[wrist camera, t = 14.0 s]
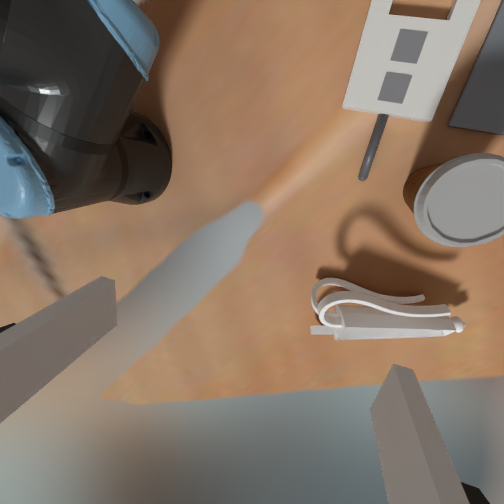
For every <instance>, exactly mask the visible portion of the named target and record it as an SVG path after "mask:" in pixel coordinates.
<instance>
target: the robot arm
mask: <svg viewBox="0 0 504 504" xmlns="http://www.w3.org/2000/svg"><path fill="white" fill-rule="evenodd" d="M158 50H159V35H158V32H157V29H156V27H155V25H154V24H153V22H152V21H151V20H150V18H149V17H148V16H147V15H146V14H145V13H144V12H143V11H142V10H141V9H140V8H139V7H138V6H137V5H136V3H135V2H134V1H133V0H0V215H3V216H6V217H10V218H28V217H34V216H49V215H51V214H53V213H58V212H62V211H66V210H70V209H74V208H79V207H83V206H87V205H91V204H96V203H100V202H104V201H113V202H119V203H124V204H130V205H138V204H143V203H147V202H150V201H153V200H155V199H156V198H158V197H159V196H160V195H161V194H162V193H163V192H164V190H165V189H166V187H167V185H168V183H169V180H170V176H171V156H170V152H169V148H168V145H167V143H166V141H165V139H164V137H163V135H162V134H161V132H160V131H159V129H158V128H157V127H156V126H155V125H154V124H153V123H152V122H151V121H150V120H148V119H147V118H145V117H144V116H142V115H139V114H137V113H133V112H131V111H132V109H133V107H134V105H135V103H136V101H137V99H138V97H139V94H140V92H141V90H142V88H143V86H144V84H145V82H146V81H148V80H149V72H150V69H151V67H152V64H153V62H154V60H155V57H156V55H157V52H158ZM116 325H117V311H116V292H115V280H112V279H109V278H106V277H102V276H101V277H99V278H98V279H96V280H94V281H92V282H90V283H89V284H87V285H85V286H83V287H82V288H80V289H78V290H76V291H74V292H73V293H71V294H69V295H67V296H66V297H64V298H62V299H60V300H58V301H57V302H55V303H53V304H51V305H50V306H48V307H46V308H44V309H42V310H41V311H39V312H37V313H35V314H33V315H32V316H30V317H28V318H26V319H25V320H23V321H21V322H19V323H17V324H15V323H12V324H9V325H6V326H3V327H1V328H0V423H1V422H2V421H4V420H5V419H6V418H7V417H8V416H9V415H10V414H12V413H13V412H14V411H15V410H17V409H18V408H19V407H20V406H21V405H23V404H24V403H25V402H26V401H27V400H28V399H30V398H31V397H32V396H33V395H34V394H36V393H37V392H38V391H39V390H40V389H42V388H43V387H44V386H45V385H46V384H47V383H49V382H50V381H51V380H52V379H53V378H55V377H56V376H57V375H58V374H59V373H61V372H62V371H63V370H64V369H65V368H66V367H68V366H69V365H70V364H71V363H72V362H74V361H75V360H76V359H77V358H78V357H80V356H81V355H82V354H83V353H84V352H85V351H87V350H88V349H89V348H90V347H91V346H92V345H94V344H95V343H96V342H97V341H98V340H100V339H101V338H102V337H103V336H104V335H106V334H107V333H108V332H109V331H110V330H112V329H113V328H114V327H115V326H116ZM370 409H371V415H372V420H373V425H374V431H375V436H376V441H377V447H378V452H379V457H380V462H381V468H382V473H383V478H384V483H385V488H386V494H387V499H388V504H490V503H489V502H488V500H487V499H486V498H485V496H484V495H483V494H482V492H481V491H480V489H479V488H476V487H473V486H470V485H468V484H465V483H462V482H460V480H459V477H458V475H457V473H456V470H455V468H454V465H453V463H452V461H451V458H450V456H449V454H448V451H447V449H446V446H445V444H444V442H443V439H442V437H441V435H440V432H439V430H438V428H437V425H436V423H435V421H434V418H433V416H432V414H431V411H430V408H429V406H428V404H427V401H426V399H425V397H424V394H423V392H422V389H421V387H420V385H419V382H418V380H417V378H416V375H415V373H414V370H412V369H409V368H406V367H402V366H399V365H396V364H393V365H392V367H391V369H390V371H389V373H388V375H387V377H386V379H385V381H384V383H383V385H382V387H381V389H380V391H379V393H378V395H377V397H376V399H375V401H374V403H373V404H372V406H371V408H370Z"/></svg>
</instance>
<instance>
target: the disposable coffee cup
mask: <svg viewBox="0 0 504 504" xmlns="http://www.w3.org/2000/svg"><path fill="white" fill-rule="evenodd" d="M403 197H404V200H405V202H406V204H407V205H408V207H409V208H410V209H411V211H412V212H413V214H414V216H415V220H416V223H417V225H418V227H419V229H420V230H421V231H422V232H423V234H424V235H425V236H427V237H428V238H429V239H431V240H432V241H434V242H437V243H439V244H442V245H446V246H452V247H464V246H475V245H480V244H484V243H487V242H490V241H492V240H495V239H496V238H498V237H500V236H502V235H503V234H504V158H503V157H502V156H498V155H494V154H488V153H475V154H468V155H463V156H460V157H457V158H454V159H452V160H450V161H448V162H446V163H443V164H438V165H433V166H429V167H424V168H422V169H420V170H418V171H416V172H415V173H413V174H412V175H411V176H410V177H409V178H408V180H407V182H406V183H405V186H404V189H403Z"/></svg>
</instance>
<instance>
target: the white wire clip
mask: <svg viewBox="0 0 504 504" xmlns="http://www.w3.org/2000/svg"><path fill="white" fill-rule="evenodd" d="M324 285H336V286H340V287H343V288H346V289H348V290H350V291H339V292H335V293H332V294H329V295H327V296H325V297H324V298H323V299H322V300H321V301H320V303H319V304H318V302H317V299H316V294H317V291H318V289H319V288H320V287H322V286H324ZM424 300H425V296H424V295H423V294H422V295H417V296H411V297H395V296H387V295H382V294H379V293H375V292H372V291H369V290H367V289H364V288H362V287H359V286H357V285H355V284H353V283H350V282H348V281H345V280H342V279H337V278H324V279H321V280H320V281H318V282H317V283H316V284H315V285H314V287H313V290H312V294H311V303H312V306H313V308H314V310H315V312H316V313H317V314H318V315H319V319H320V322H321V323H322V324H324V325H323V326H310V328H311V334H334V338H335V340H359V339H386V338H411V337H435V336H446V335H448V334H450V333H452V332H454V331H455V332H458V333H459V332H462V331H463V329H464V327H465V326H466V323H465V322H463V321H462V320H461V319H460V318H459V317H457V316H454V317H451V318H449V317H448V316H447V315H450V314H451V311H450V310H449V308H448V307H447V305H446V304H441V305H432V306H409V305H400V304H410V303H416V302H421V301H424ZM345 302H352V303H359V304H364V305H367V306H356V305H340V304H338V303H345ZM335 304H337V305H336V306H335V307H334V311H333V313H330V312H327V311H326V310H327V309H328V308H329V307H331V306H333V305H335ZM369 306H370V307H369Z"/></svg>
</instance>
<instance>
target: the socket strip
mask: <svg viewBox="0 0 504 504" xmlns="http://www.w3.org/2000/svg"><path fill="white" fill-rule="evenodd" d="M392 1H393V0H371V4H370V8H369V11H368V15H367V18H366V22H365V26H364V29H363V33H362V36H361V40H360V43H359V47H358V51H357V54H356V58H355V61H354V65H353V69H352V72H351V76H350V79H349V83H348V87H347V90H346V94H345V97H344V101H343V104H342V109H348V110H355V111H361V112H367V113H373V114H379V116H378V119H377V122H376V125H375V128H374V131H373V134H372V137H371V140H370V143H369V146H368V149H367V152H366V155H365V158H364V161H363V164H362V167H361V170H360V173H359V176H358V178H359V180H361V181H364V180H366V179H367V177H368V174H369V171H370V168H371V165H372V162H373V159H374V157H375V154H376V151H377V148H378V145H379V142H380V139H381V136H382V134H383V131H384V128H385V125H386V122H387V119H388V116H391V117H397V118H403V119H409V120H415V121H421V122H430V121H432V119H433V116H434V114H435V111H436V109H437V106H438V104H439V102H440V99H441V97H442V94H443V92H444V89H445V87H446V84H447V82H448V80H449V77H450V75H451V72H452V70H453V67H454V65H455V62H456V60H457V57H458V55H459V53H460V50H461V48H462V45H463V43H464V40H465V38H466V35H467V33H468V31H469V28H470V26H471V23H472V21H473V18H474V16H475V13H476V11H477V9H478V6H479V4H480V1H481V0H453V3H452V5H451V8H450V11H449V13H448V16H447V19H446V20H439V19H430V18H420V17H410V16H400V15H391V14H389V11H390V8H391V5H392Z"/></svg>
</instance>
